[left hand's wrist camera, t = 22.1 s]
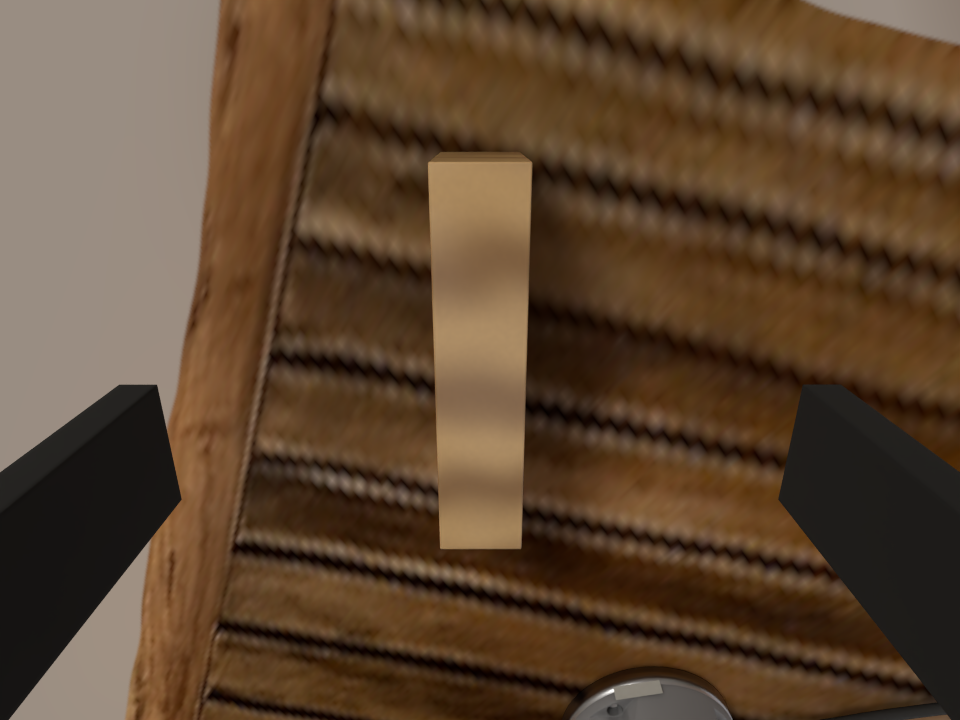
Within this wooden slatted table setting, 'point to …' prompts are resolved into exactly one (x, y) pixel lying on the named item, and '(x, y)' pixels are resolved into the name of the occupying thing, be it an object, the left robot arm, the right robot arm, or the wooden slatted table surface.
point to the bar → (480, 342)
